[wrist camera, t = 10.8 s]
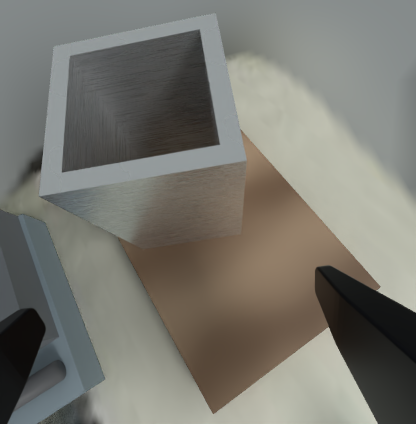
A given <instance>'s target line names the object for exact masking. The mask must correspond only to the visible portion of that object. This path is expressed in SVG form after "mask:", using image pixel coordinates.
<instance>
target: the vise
mask: <svg viewBox="0 0 416 424" xmlns="http://www.w3.org/2000/svg"><path fill="white" fill-rule="evenodd" d="M24 308H34V309H36V310H37V312H38V314H39V315H40V317H41V318H42V320H43V322H44V323H45V325H46V332H45V335H44V338H43V341H42V343H41V346H40V349H39V351H38V354H37V357H36V359H35V362H34V365H33V367H32V370H31V373H30V375H29V378H28V380H27V383H26V385H25V387H24V390H23V392H22V394H21V396H20V398H19V400H18V403H17V405H16V407H15V409H14V411H13V413H12V415H11V418H10V420H9V422H8V424H38V423H39V422H41V421H42V420H44V419H45V418H47V417H48V416H50V415H51V414H53V413H54V412H56V411H57V410H59V409H60V408H62V407H64V406H65V405H67V404H68V403H70V402H71V401H73V400H74V399H76V398H77V397H79V396H80V395H82V394H83V393H85V392H86V391H88V390H89V389H91V388H92V387H94V386H95V385H97V384H99V383H100V382H102V381H103V380H105V377H104V375H103V372H102V370H101V367H100V364H99V362H98V359H97V357H96V354H95V351H94V349H93V346H92V344H91V341H90V338H89V336H88V333H87V331H86V328H85V325H84V323H83V320H82V318H81V315H80V312H79V310H78V307H77V305H76V302H75V299H74V297H73V294H72V292H71V289H70V286H69V284H68V281H67V278H66V276H65V273H64V271H63V268H62V265H61V263H60V260H59V258H58V255H57V252H56V250H55V247H54V245H53V242H52V239H51V237H50V234H49V232H48V229H47V226H46V224H45V222H42V221H40V220H37V219H34V218H32V217H29V216H27V215H24V214H21V215H19V216H16V215H13V214H10V213H8V212H5V211H2V210H0V322H1V321H2V320H4V319H5V318H7V317H8V316H10V315H11V314H13V313H14V312H16V311H17V310H20V309H24Z"/></svg>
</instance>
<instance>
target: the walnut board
mask: <svg viewBox="0 0 416 424" xmlns="http://www.w3.org/2000/svg"><path fill="white" fill-rule="evenodd" d="M240 131H241V135H242V140H243V145H244V149H245V154H246V159H247V165H246V178H245V190H244V203H243V215H242V228H241V234H239V235H232V236H226V237H219V238H213V239H206V240H200V241H194V242H187V243H181V244H174V245H168V246H162V247H155V248H149V249H142V248H140V247H138V246H136V245H134V244H132V243H130V242H128V241H126V240H124V239H122V238H120V237H118V236H117V237H118V239H119V241H120V242H121V244H122V246H123V248H124V250H125V252H126V254H127V255H128V257H129V259H130V261H131V263H132V265H133V267H134V268H135V270H136V272H137V274H138V276H139V278H140V280H141V281H142V283H143V285H144V287H145V289H146V291H147V293H148V294H149V296H150V298H151V300H152V302H153V304H154V306H155V307H156V309H157V311H158V313H159V315H160V317H161V318H162V320H163V322H164V324H165V326H166V328H167V330H168V331H169V333H170V335H171V337H172V339H173V341H174V343H175V344H176V346H177V348H178V350H179V352H180V354H181V356H182V357H183V359H184V361H185V363H186V365H187V367H188V369H189V370H190V372H191V374H192V376H193V378H194V380H195V382H196V383H197V385H198V387H199V389H200V391H201V393H202V395H203V396H204V398H205V400H206V402H207V404H208V406H209V407H210V409H211V411H212V413H213V414H214V413H215V412H217V411H218V410H219V409H221V408H222V407H223V406H225V405H226V404H227V403H229V402H230V401H231V400H233V399H234V398H235V397H237V396H238V395H239V394H240V393H242V392H243V391H244V390H246V389H247V388H248V387H250V386H251V385H252V384H254V383H255V382H256V381H258V380H259V379H260V378H262V377H263V376H264V375H266V374H267V373H268V372H269V371H271V370H272V369H273V368H275V367H276V366H277V365H279V364H280V363H281V362H283V361H284V360H285V359H287V358H288V357H289V356H291V355H292V354H293V353H295V352H296V351H297V350H298V349H300V348H301V347H302V346H304V345H305V344H306V343H308V342H309V341H310V340H312V339H313V338H314V337H316V336H317V335H318V334H320V333H321V332H322V331H324V330H325V329H326V328H327V327H329V326H328V323H327V321H326V318H325V316H324V313H323V311H322V308H321V306H320V303H319V301H318V298H317V296H316V293H315V269H316V267H318V266H325V265H330V266H333V267H334V268H336V269H338V270H340V271H342V272H343V273H345V274H347V275H349V276H351V277H352V278H354V279H356V280H358V281H360V282H361V283H363V284H365V285H367V286H369V287H370V288H372V289H374V290H378V289H379V288H380V286H379V284H378V283H377V282H376V281H375V280H374V279H373V278H372V277H371V275H370V274H369V273H368V272H367V271H366V270H365V269H364V268H363V266H362V265H361V264H360V263H359V262H358V261H357V260H356V259H355V257H354V256H353V255H352V254H351V253H350V252H349V251H348V250H347V248H346V247H345V246H344V245H343V244H342V243H341V242H340V241H339V239H338V238H337V237H336V236H335V235H334V234H333V233H332V232H331V230H330V229H329V228H328V227H327V226H326V225H325V224H324V223H323V221H322V220H321V219H320V218H319V217H318V216H317V215H316V214H315V212H314V211H313V210H312V209H311V208H310V207H309V206H308V205H307V203H306V202H305V201H304V200H303V199H302V198H301V197H300V196H299V194H298V193H297V192H296V191H295V190H294V189H293V188H292V187H291V186H290V184H289V183H288V182H287V181H286V180H285V179H284V178H283V177H282V175H281V174H280V173H279V172H278V171H277V170H276V169H275V168H274V166H273V165H272V164H271V163H270V162H269V161H268V160H267V159H266V157H265V156H264V155H263V154H262V153H261V152H260V151H259V150H258V148H257V147H256V146H255V145H254V144H253V143H252V142H251V141H250V139H249V138H248V137H247V136H246V135H245V134H244V133H243V132H242V130H241V129H240Z"/></svg>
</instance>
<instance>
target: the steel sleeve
mask: <svg viewBox="0 0 416 424" xmlns="http://www.w3.org/2000/svg"><path fill="white" fill-rule="evenodd" d="M53 49H54V50H53V59H52V69H51V79H50V90H49V100H48V109H47V119H46V129H45V139H44V149H43V159H42V169H41V179H40V189H39V197H41V198H43V199H45V200H47V201H49V202H51V203H53V204H55V205H57V206H59V207H61V208H63V209H65V210H67V211H69V212H71V213H73V214H75V215H77V216H78V217H80V218H82V219H84V220H86V221H88V222H90V223H92V224H94V225H96V226H98V227H100V228H102V229H104V230H106V231H108V232H110V233H112V234H114V235H116V236H118V237H120V238H122V239H124V240H126V241H128V242H130V243H132V244H134V245H136V246H138V247H140V248H142V249H149V248H155V247H162V246H168V245H174V244H181V243H187V242H194V241H200V240H206V239H213V238H219V237H226V236H232V235H239V234H241V228H242V215H243V203H244V190H245V178H246V165H247V159H246V154H245V149H244V145H243V140H242V135H241V131H240V126H239V121H238V116H237V112H236V107H235V102H234V98H233V93H232V88H231V83H230V79H229V74H228V69H227V65H226V60H225V55H224V50H223V46H222V41H221V36H220V32H219V27H218V22H217V17H216V13H213V14H208V15H203V16H198V17H194V18H189V19H184V20H179V21H174V22H170V23H165V24H160V25H155V26H150V27H146V28H141V29H136V30H131V31H126V32H122V33H117V34H112V35H107V36H102V37H97V38H93V39H88V40H83V41H78V42H73V43H68V44H63V45H59V46H54V48H53Z"/></svg>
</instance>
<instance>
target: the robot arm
mask: <svg viewBox="0 0 416 424" xmlns="http://www.w3.org/2000/svg"><path fill="white" fill-rule="evenodd" d="M315 293H316V296H317V298H318V301H319V303H320V306H321V308H322V311H323V313H324V316H325V318H326V321H327V323H328V326H329V328H330V331H331V333H332V336H333V338H334V340H335V343H336V345H337V347H338V349H339V351H340V353H341V355H342V357H343V359H344V360H345V362H346V364H347V366H348V368H349V370H350V372H351V374H352V375H353V377H354V379H355V381H356V383H357V385H358V387H359V389H360V391H361V392H362V394H363V396H364V398H365V400H366V402H367V404H368V406H369V408H370V409H371V411H372V413H373V415H374V417H375V419H376V421H377V423H378V424H416V313H415V312H413V311H412V310H410V309H408V308H406V307H404V306H403V305H401V304H399V303H397V302H395V301H394V300H392V299H390V298H388V297H386V296H385V295H383V294H381V293H379V292H378V291H376V290H374V289H372V288H370V287H369V286H367V285H365V284H363V283H361V282H360V281H358V280H356V279H354V278H352V277H351V276H349V275H347V274H345V273H343V272H342V271H340V270H338V269H336V268H334V267H333V266H330V265H325V266H318V267H316V269H315ZM45 332H46V325H45V323H44V322H43V320H42V318H41V317H40V315H39V314H38V312H37V310H36V309H34V308H24V309H20V310H17V311H16V312H14V313H13V314H11V315H10V316H8V317H7V318H5V319H4V320H2V321H1V322H0V424H8V422H9V420H10V418H11V415H12V413H13V411H14V409H15V407H16V405H17V403H18V400H19V398H20V396H21V394H22V392H23V390H24V387H25V385H26V383H27V380H28V378H29V375H30V373H31V370H32V367H33V365H34V362H35V359H36V357H37V354H38V351H39V349H40V346H41V343H42V341H43V338H44V335H45Z"/></svg>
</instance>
